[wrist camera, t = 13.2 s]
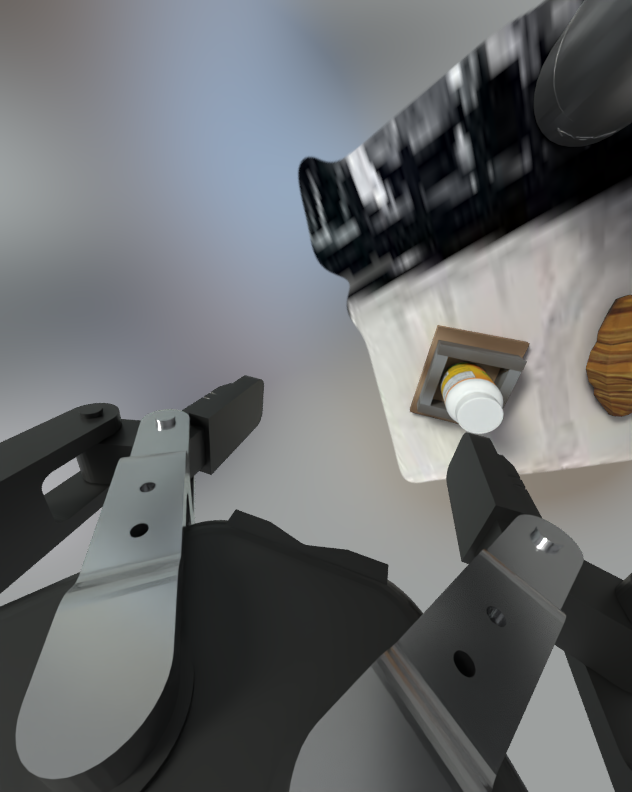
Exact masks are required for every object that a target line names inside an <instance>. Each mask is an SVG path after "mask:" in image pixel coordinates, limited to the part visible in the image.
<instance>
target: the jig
mask: <svg viewBox="0 0 632 792" xmlns="http://www.w3.org/2000/svg"><path fill="white" fill-rule="evenodd" d="M528 346H529V343H528V342H525V341H519V340H514V339H509V338H503V337H498V336H493V335H488V334H482V333H477V332H472V331H466V330H461V329H456V328H450V327H445V326H440V325H438V326H437V329H436V332H435V335H434V338H433V341H432V344H431V347H430V350H429V353H428V356H427V359H426V362H425V365H424V368H423V371H422V374H421V377H420V380H419V383H418V386H417V389H416V392H415V395H414V398H413V401H412V404H411V407H410V412H413V413H417V414H421V415H425V416H429V417H433V418H437V419H441V420H445V421H449V422H453V423H457V422H456V421H454V420H453V419H452V418H451V417H450V415H449V414H448V412H447V409H446V406H445V403H444V400H443V396H442V393H441V389H440V378H441V376H442V374H443V372H444V371H445V370H446V369H447V368H448V367H450V366H451V365H453V364H455V363H459V362H472V363H475V364H477V365H479V366H480V367H482V368H483V369H484V371H485V372H486V373H487V374H488V376H489V377H490V378H491V380H492V381H493V382H494V383H495V385H496V386H497V387H498V389H499V390H500V392H501V394H502V397H503V407H502V409H503V408H504V406H505V404H506V402H507V400H508V398H509V396H510V394H511V392H512V390H513V388H514V386H515V384H516V382H517V380H518V378H519V376H520V374H521V372H522V370H523V368H524V366H525V365H526V363H527V361H525V360H524V359H523V356H524V354H525V352H526V350H527V348H528ZM457 424H459V423H457Z"/></svg>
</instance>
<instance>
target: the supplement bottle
mask: <svg viewBox="0 0 632 792" xmlns="http://www.w3.org/2000/svg"><path fill="white" fill-rule="evenodd" d="M440 389H441V393H442V396H443V400H444V403H445V406H446V409H447V412H448V414H449V415H450V417H451V418H452V419H453V420H454V421H456V422H457V423H459V425H460V426H461V427H462V428H463V429H464V430H466V431H468V432H470V433H474V434H484V433H488V432H491V431H493V430H494V429H496V428H497V427H498V426H499V425H500V424H501V422H502V420H503V409H502V407H503V397H502V394H501V392H500V390H499V389H498V387H497V386H496V385H495V383H494V382H493V381H492V380H491V378H490V377H489V376H488V374H487V373H486V372H485V371H484V369H483V368H482V367H480V366H479V365H477V364H475V363H472V362H459V363H455V364H453V365H451V366H450V367H448V368H447V369H446V370H445V371H444V372H443V374H442V376H441V378H440Z"/></svg>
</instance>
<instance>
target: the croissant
mask: <svg viewBox="0 0 632 792" xmlns="http://www.w3.org/2000/svg"><path fill="white" fill-rule="evenodd" d="M586 371H587V375H588V380H589V382H590V383H591V385H592V386H593V387H594V395H595V397H596V398H597V399H598V401H599V402H600V403H601V405H602V406H603V407H604V409H605V410H606V411H607V412H608V414H610V415H612V416H621V417H622V416H625V415H629V414H630V413H632V295H627V296H624V297H621V298H618V299H616V300H615V302H614V303H613V305H612V307H611V308H610V310H609V311H608V313H607V315H606V317H605V319H604V321H603V323H602V325H601V327H600V329H599V331H598V338H597V342H596V344H595V346H594V347H593V349H592V350H591V352H590V356H589V359H588V363H587V366H586Z"/></svg>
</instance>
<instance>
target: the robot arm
mask: <svg viewBox="0 0 632 792" xmlns="http://www.w3.org/2000/svg"><path fill="white" fill-rule="evenodd" d="M534 113H535V117H536V122H537V124H538V126H539V128H540V130H541V132H542V133H543V134H544V135H545V136H546V137H547V138H548V139H549V140H550V141H552V142H554V143H556V144H558V145H562V146H567V147H580V146H586V145H590V144H594V143H597V142H599V141H601V140H603V139H606V138H608V137H610V136H612V135H613V134H615V133H617V132H618V131H620V130H621V129H623V128H624V127H626V126H628V125H629V124H631V123H632V0H585V1H584V2H583V3H582V5H581V6H580V8H579V9H578V11H577V12H576V14H575V15H574V17H573V18H572V20H571V21H570V23H569V24H568V26H567V27H566V29H565V30H564V32H563V33H562V35H561V36H560V38H559V39H558V41H557V42H556V44H555V45H554V47H553V48H552V50H551V51H550V53H549V55H548V57H547V59H546V61H545V63H544V65H543V67H542V69H541V72H540V75H539V78H538V80H537V84H536V90H535V95H534ZM263 391H264V383H263V380H261V379H257V378H253V377H249V376H243V377H241V378H240V379H238V380H237V381H235V382H234V383H230V384H227V385H223V386H220V387H218V388H216V389H215V390H213V391H212V392H211V393H209V394H207V395H205V396H204V398H201V399H199V400H198V401H196V402H195V403H193V404H191V405H190V406H188V407H187V408H185V409H184V410H182V411H180V410H174V409H167V410H159V411H155V412H153V413H150V414H148V415H147V416H145V417H144V418H143V419H142V420H141V421H139V420H126V419H121V417H120V412H119V409H118V407H117V406H115V405H112V404H108V403H94V404H88V405H83V406H80V407H77V408H75V409H72V410H71V411H68V412H66V413H64V414H62V415H59V416H57V417H55V418H53V419H51V420H49V421H46V422H44V423H42V424H40V425H38V426H35V427H33V428H31V429H29V430H27V431H25V432H22V433H20V434H18V435H16V436H14V437H12V438H9V439H8V440H5V441H3V442H1V443H0V593H1V592H3V591H4V590H5V589H6V588H7V587H9V586H10V585H11V584H12V583H13V582H15V581H16V580H17V579H18V578H19V577H20V576H22V575H23V574H24V573H25V572H26V571H27V570H29V569H30V568H31V567H32V566H33V565H34V564H36V563H37V562H38V561H39V560H40V559H42V558H43V557H44V556H45V555H46V554H47V553H49V552H50V551H51V550H52V549H53V548H54V547H56V546H57V545H58V544H59V543H60V542H61V541H63V540H64V539H65V538H66V537H67V536H68V535H70V534H71V533H72V532H73V531H74V530H75V529H77V528H78V527H79V526H80V525H81V524H82V523H84V522H85V521H86V520H87V519H88V518H89V517H91V516H92V515H93V514H94V513H95V512H97V511H98V510H99V509H100V508H101V507H103V508H102V510H101V513H100V517H99V519H98V522H97V525H96V528H95V531H94V534H93V537H92V540H91V542H90V545H89V548H88V551H87V554H86V557H85V560H84V563H83V566H82V569H81V571H80V572H79V573H77V574H74V575H72V576H70V577H68V578H65V579H63V580H61V581H58V582H56V583H54V584H52V585H49V586H47V587H44V588H42V589H40V590H38V591H35V592H33V593H31V594H28V595H26V596H24V597H21V598H19V599H17V600H15V601H12V602H10V603H7V604H5V605H3V606H0V792H528V790H527V789H526V787H525V785H524V783H523V782H522V780H521V778H520V776H519V775H518V773H517V771H516V770H515V768H514V766H513V764H512V763H511V761H510V759H509V758H508V756H507V754H506V752H507V750H508V748H509V746H510V743H511V741H512V739H513V737H514V734H515V732H516V730H517V728H518V725H519V723H520V721H521V719H522V716H523V714H524V712H525V710H526V707H527V705H528V703H529V701H530V698H531V696H532V694H533V692H534V689H535V687H536V685H537V683H538V680H539V678H540V676H541V674H542V671H543V669H544V667H545V665H546V662H547V660H548V658H549V656H550V654H551V651H552V649H553V647H554V645H556V646H557V647H559V648H560V649H562V650H563V651H564V652H565V655H566V658H567V660H568V663H569V666H570V668H571V671H572V674H573V677H574V680H575V683H576V685H577V688H578V691H579V694H580V696H581V699H582V702H583V705H584V707H585V710H586V713H587V715H588V718H589V721H590V724H591V727H592V729H593V732H594V735H595V738H596V741H597V743H598V746H599V749H600V751H601V754H602V757H603V759H604V762H605V765H606V768H607V771H608V774H609V776H610V779H611V782H612V785H613V787H614V790H615V792H632V573H631V574H630V575H629V576H628V577H627V578H626V579H625V580H622V579H620V578H618V577H616V576H614V575H612V574H610V573H608V572H606V571H604V570H602V569H600V568H599V567H596V566H595V565H592V564H590V563H589V562H587V561H585V560H584V558H583V554H582V551H581V550H580V548H579V547H578V545H577V544H576V543H575V542H574V541H573V539H572V538H571V537H570V536H569V535H567V534H566V533H565V532H564V531H562V530H561V529H560V528H558V527H557V526H555V525H554V524H552V523H550V522H548V521H547V520H544V519H542V517H541V515H540V514H539V511H538V510H537V508H536V506H535V504H534V502H533V500H532V499H531V497H530V495H529V493H528V491H527V490H526V489H525V486H524V484H523V482H522V480H520V476H519V474H518V473H517V471H516V469H515V467H514V466H513V465H512V464H511V463H510V462H509V461H508V460H507V459H506V458H505V457H504V456H502V455H499V454H497V452H496V450H495V448H494V446H493V444H492V441H491V440H490V438H487V437H483V436H479V435H475V434H472V433H468V432H466V433H465V434H464V435H463V436H462V438H461V440H460V442H459V445H458V447H457V449H456V451H455V453H454V456H453V458H452V460H451V462H450V464H449V467H448V471H447V478H446V480H447V487H448V492H449V497H450V503H451V508H452V513H453V519H454V523H455V529H456V535H457V540H458V545H459V551H460V556H461V561H462V562H464V563H467V564H469V565H468V566H467V567H466V568H465V569H464V570H463V571H462V572H461V573H460V575H459V576H458V577H457V578H456V579H455V580H454V581H453V582H452V583H451V584H450V585H449V586H448V588H447V589H446V590H445V591H444V592H443V593H442V594H441V595H440V596H439V597H438V598H437V599H436V600H435V602H434V603H433V604H432V605H431V606H430V607H429V608H428V609H427V610H426V611H425V612H424V613H422V611H421V610H420V609H419V608H418V607H417V606H416V604H415V603H414V602H413V601H412V600H411V599H410V598H409V597H408V596H407V595H406V594H405V593H404V592H403V591H402V590H401V589H399V588H398V587H397V586H396V585H395V584H393V583H392V582H390V581H389V580H387V578H388V564H385V563H382V562H379V561H377V560H374V559H371V558H368V557H366V556H363V555H360V554H358V553H354V552H352V551H349V550H344V549H336V548H326V547H317V546H309V545H305V544H302V543H300V542H299V541H298V540H296V539H295V538H293V537H292V536H290V535H289V534H287V533H286V532H284V531H283V530H282V529H280V528H279V527H277V526H276V525H274V524H273V523H271V522H269V521H267V520H264V519H261V518H258V517H255V516H253V515H250V514H247V513H244V512H242V511H239V510H235V511H234V513H233V514H232V516H231V517H230V519H229V520H228V521H227V520H214V521H205V522H200V523H196V524H195V477H194V475H195V474H196V473H197V472H198V471H202V472H204V473H207V474H210V475H212V474H213V473H214V471H215V470H216V469H217V468H218V467H219V466H220V465H221V464H222V463H223V462H224V461H225V460H226V459H227V458H228V457H229V455H230V454H231V453H232V452H233V451H234V450H235V449H236V448H237V447H238V446H239V445H240V444H241V443H242V442H243V441H244V440H245V439H246V437H247V436H248V435H249V434H250V433H251V432H252V431H253V430H254V429H255V428H256V427H257V426H258V424H259V422H260V420H261V417H262V411H263V393H264V392H263ZM75 457H76V458H77V461H78V464H79V467H80V470H81V471H79V472H78V473H77V474H75V475H74V476H72V477H70V478H69V479H68V480H66V481H65V482H63V483H62V484H60V485H59V486H57V487H56V488H54V489H53V490H51V491H50V492H48V493H47V494H45V495H43V493H42V484H43V481H44V480H45V478H46V477H47V476H48V475H49V474H50V473H51V472H52V471H54V470H56V469H57V468H59V467H61V466H62V465H64V464H66V463H67V462H69V461H70V460H72V459H74V458H75Z"/></svg>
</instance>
